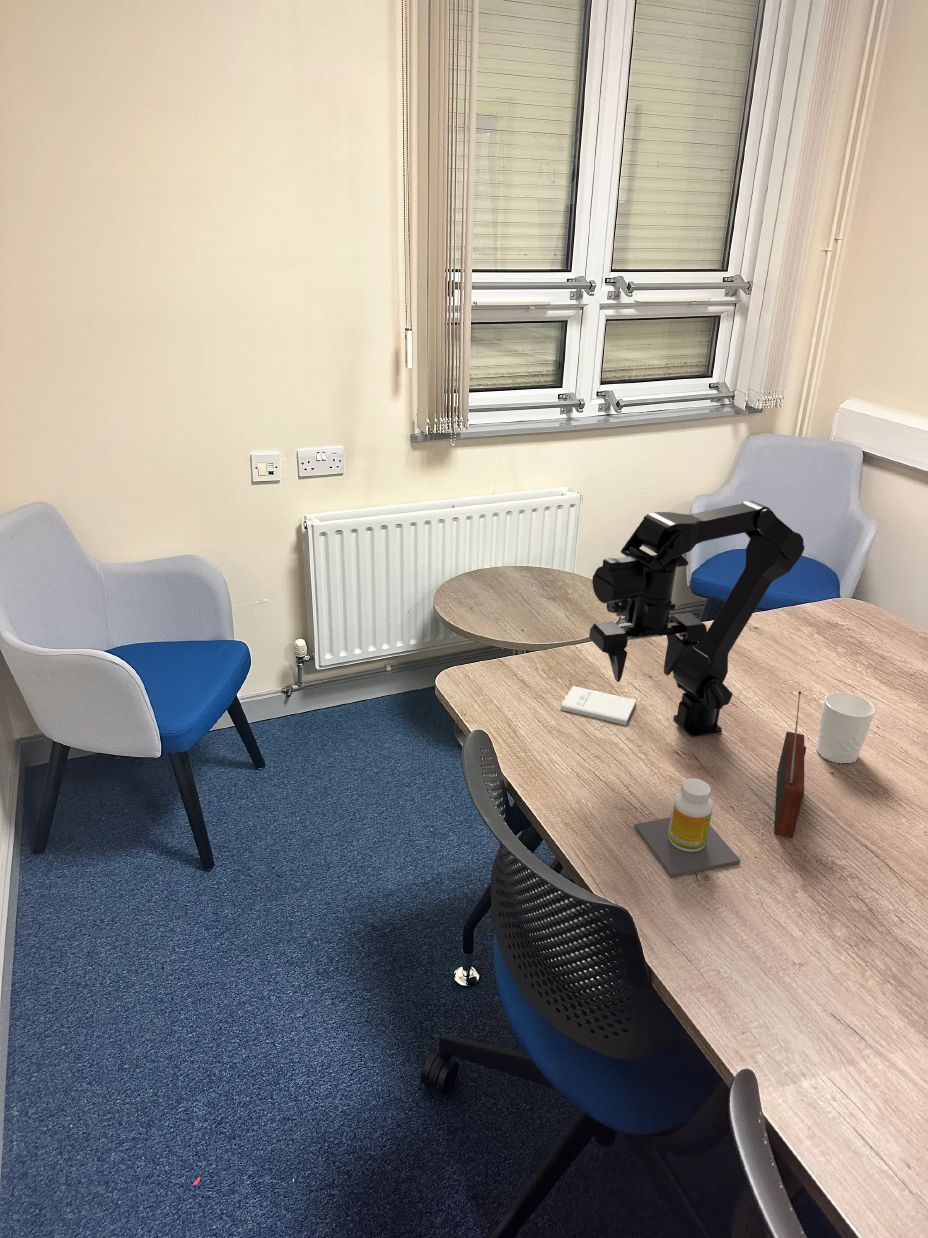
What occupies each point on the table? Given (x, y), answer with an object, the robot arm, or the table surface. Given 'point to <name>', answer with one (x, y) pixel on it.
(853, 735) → the white cup
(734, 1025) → the table surface
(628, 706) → the external hard drive
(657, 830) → the coaster mat
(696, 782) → the supplement bottle
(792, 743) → the radio
